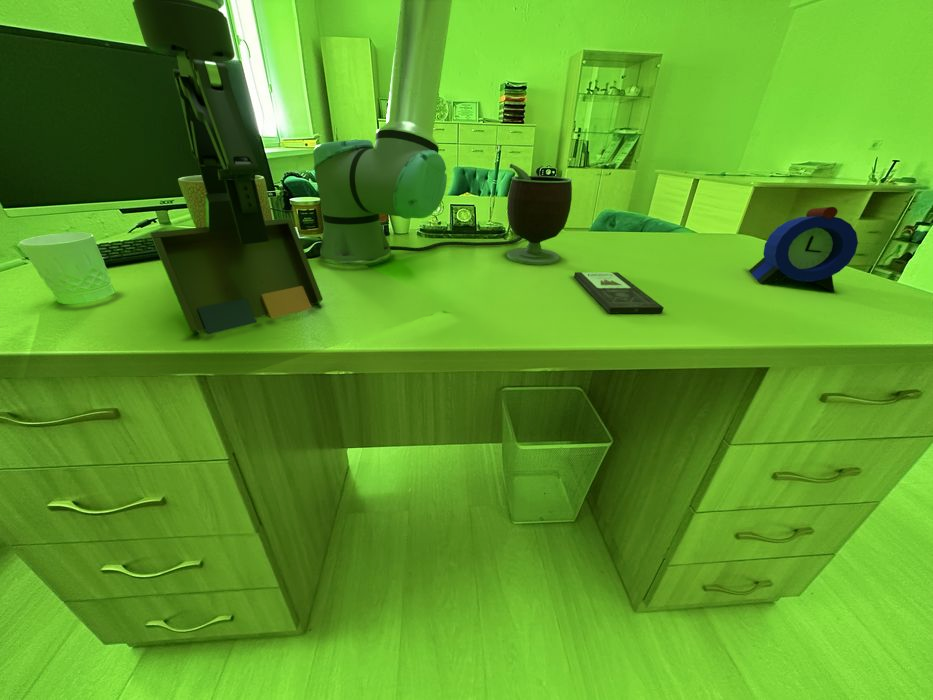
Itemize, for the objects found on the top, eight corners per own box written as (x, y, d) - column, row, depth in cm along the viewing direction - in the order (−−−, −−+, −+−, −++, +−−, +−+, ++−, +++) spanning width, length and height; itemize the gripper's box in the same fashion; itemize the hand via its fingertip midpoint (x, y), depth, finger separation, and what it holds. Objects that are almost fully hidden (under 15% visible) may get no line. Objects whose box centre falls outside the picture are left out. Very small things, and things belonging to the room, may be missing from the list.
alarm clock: (761, 284, 74) (796, 205, 67) (746, 267, 84) (775, 197, 77) (836, 294, 70) (882, 211, 63) (811, 275, 80) (849, 202, 73)
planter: (224, 258, 81) (201, 183, 74) (187, 246, 89) (162, 177, 81) (293, 243, 94) (279, 177, 86) (255, 233, 102) (239, 173, 94)
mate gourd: (536, 247, 96) (546, 161, 86) (574, 260, 86) (591, 165, 76) (487, 254, 89) (491, 161, 79) (522, 270, 79) (532, 166, 69)
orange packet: (301, 288, 58) (302, 285, 57) (311, 311, 58) (312, 309, 57) (260, 297, 55) (261, 294, 54) (271, 321, 55) (271, 319, 54)
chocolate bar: (610, 307, 59) (574, 272, 75) (608, 313, 60) (574, 276, 75) (663, 307, 60) (617, 272, 75) (662, 312, 60) (616, 276, 76)
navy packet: (245, 300, 53) (246, 297, 52) (256, 325, 53) (256, 323, 52) (197, 310, 50) (196, 307, 49) (208, 337, 50) (208, 335, 49)
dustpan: (286, 227, 59) (302, 188, 49) (317, 305, 60) (338, 282, 50) (153, 243, 49) (138, 197, 39) (192, 336, 50) (187, 315, 40)
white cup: (47, 314, 55) (7, 247, 50) (66, 296, 61) (32, 234, 56) (114, 305, 58) (83, 241, 53) (126, 289, 64) (99, 230, 59)
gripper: (122, 17, 41) (186, 214, 52) (141, -44, 25) (229, 260, 36) (201, 30, 45) (245, 209, 56) (260, -15, 29) (307, 249, 40)
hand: (239, 231), depth 46 cm, fingers open, 13 cm apart
